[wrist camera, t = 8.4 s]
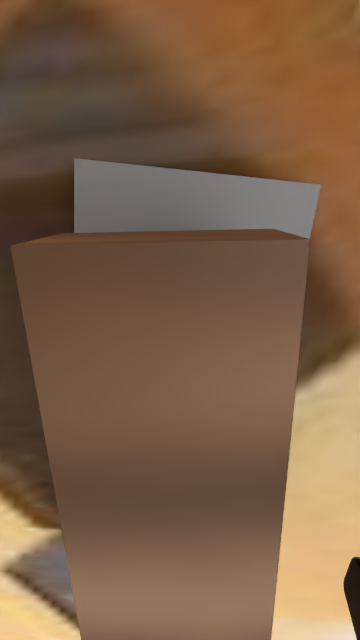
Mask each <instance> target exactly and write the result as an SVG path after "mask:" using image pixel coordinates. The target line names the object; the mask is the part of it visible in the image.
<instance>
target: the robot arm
mask: <svg viewBox="0 0 360 640" xmlns="http://www.w3.org/2000/svg"><path fill="white" fill-rule="evenodd" d="M344 592H345V596H346V600H347V604H348V607H349V611H350V615H351V619H352V623H353V626H354V630H355V634H356V638H357V640H360V557H354V558H352V560H351V562H350V565H349V567H348V570H347V573H346V575H345V578H344Z"/></svg>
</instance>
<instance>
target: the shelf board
mask: <svg viewBox="0 0 360 640" xmlns="http://www.w3.org/2000/svg"><path fill="white" fill-rule="evenodd" d="M10 247H11V252H12V258H13V264H14V269H15V275H16V280H17V286H18V291H19V297H20V302H21V308H22V313H23V319H24V325H25V330H26V336H27V341H28V347H29V352H30V358H31V363H32V369H33V374H34V380H35V386H36V391H37V397H38V402H39V408H40V413H41V419H42V424H43V430H44V435H45V441H46V446H47V452H48V458H49V463H50V469H51V474H52V480H53V485H54V491H55V496H56V502H57V507H58V513H59V519H60V524H61V530H62V535H63V541H64V546H65V552H66V557H67V563H68V568H69V574H70V580H71V585H72V591H73V596H74V602H75V607H76V613H77V618H78V624H79V629H80V635H81V640H271V634H272V623H273V613H274V603H275V593H276V583H277V573H278V562H279V552H280V542H281V532H282V522H283V511H284V501H285V491H286V481H287V471H288V460H289V450H290V440H291V430H292V420H293V410H294V399H295V389H296V379H297V369H298V359H299V348H300V338H301V328H302V318H303V308H304V298H305V287H306V277H307V267H308V257H309V247H310V239H308V238H304V237H301V236H297V235H294V234H291V233H287V232H284V231H280V230H277V229H230V230H185V231H140V232H95V233H61V234H56V235H52V236H48V237H44V238H40V239H36V240H32V241H27V242H23V243H19V244H15V245H11V246H10Z"/></svg>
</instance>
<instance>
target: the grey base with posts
mask: <svg viewBox="0 0 360 640" xmlns="http://www.w3.org/2000/svg"><path fill="white" fill-rule="evenodd" d="M320 188H321V185H319V184H310V183H301V182H291V181H282V180H273V179H263V178H254V177H245V176H235V175H226V174H217V173H207V172H198V171H189V170H179V169H170V168H161V167H151V166H142V165H133V164H123V163H114V162H105V161H95V160H86V159H77V158H74V233H95V232H140V231H185V230H230V229H277V230H280V231H284V232H287V233H291V234H294V235H297V236H301V237H304V238H308V239H310V234H311V230H312V225H313V221H314V216H315V211H316V207H317V202H318V198H319V193H320Z"/></svg>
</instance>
